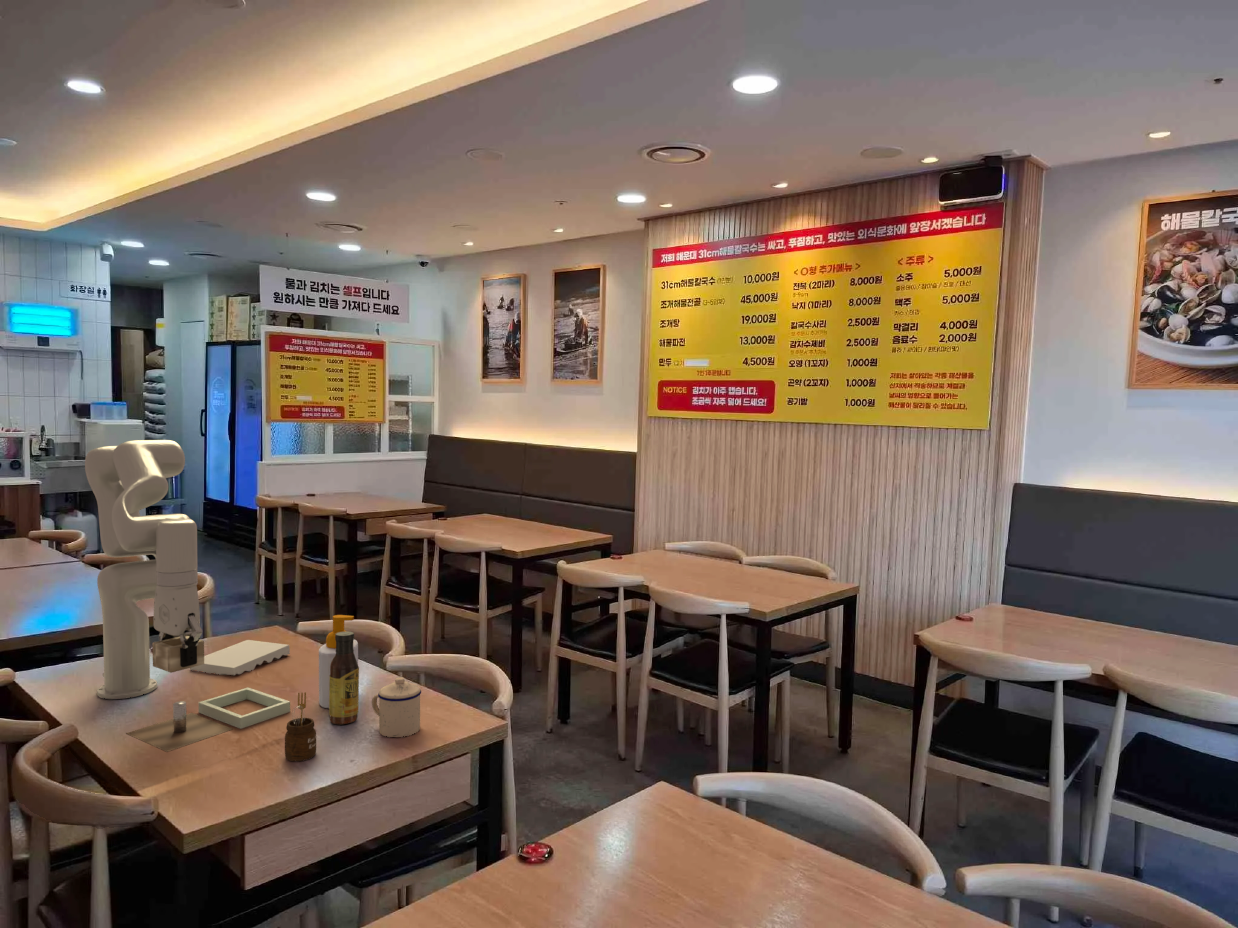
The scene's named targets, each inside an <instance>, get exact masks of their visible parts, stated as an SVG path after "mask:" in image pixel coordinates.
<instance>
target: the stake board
mask: <svg viewBox="0 0 1238 928" xmlns="http://www.w3.org/2000/svg"><path fill="white" fill-rule="evenodd" d="M186 724H187V731H185V732H183V733H174V723H173V718H171V719H167V720H163V721H161V722H158V723H157V722H156V723H154V724H152V725H151V724H150V725H147V726H145V727H141V728H138V729H135V730H131V731H129V732H126V733H125V734H126V735H128V736H131V737H133V738H135V739H138V740H139V741H142V742H144V743H145V744H148V745H150V746H152V747H155V748H157V749H159V750H162V751H164V752H166V753H168V752H171V751H174V750H177V749H180V748H183V747H186V746H189V745H192V744H194V743H198V742H201V741H204V740H206V739H210V738H212V737H215V736H218V735H221V734H223V733H226V732H227V733H228V732H230V731H233V730H234V728H232V727H229V726H227V725H224V724H222V723H219V722H216V721H213V720H211V719H208V718H206V717H203V716H201V715H199V714H196V713H193V712H189V713H186Z"/></svg>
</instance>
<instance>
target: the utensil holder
mask: <svg viewBox="0 0 1238 928" xmlns="http://www.w3.org/2000/svg"><path fill="white" fill-rule="evenodd" d="M297 693H298V694H297V706H296V705H295V707H294V708H293V710H291V711H292V712H291V713H293V714H292V716H291V720H289V721H288V722H287V723H286V733H285V734H284V756H285V758H286V760H288V761H289V760H290V762H295V761H297V762H304V761H308V760H310V759H312V758H313V757H315V755H316V754H317V732H316V729H315V721H314V719H312V718H310V717H304V715H305V713H306V712H305V708H306V706H307V692H304V693H303V692H301V693H300V692H297ZM296 709H297V710H299V711H300V717H296V718H295V715H296V712H295V711H296ZM294 718H295V719H294ZM303 760H304V761H303Z"/></svg>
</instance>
